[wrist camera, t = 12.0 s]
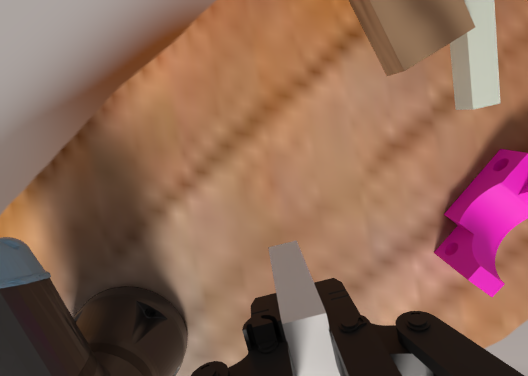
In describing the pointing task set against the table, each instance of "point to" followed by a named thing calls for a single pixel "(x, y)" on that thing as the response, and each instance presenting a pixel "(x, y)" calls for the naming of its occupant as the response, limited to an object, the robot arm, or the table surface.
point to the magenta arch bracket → (487, 218)
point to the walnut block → (410, 28)
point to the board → (476, 59)
